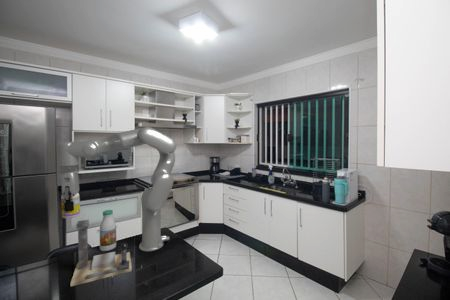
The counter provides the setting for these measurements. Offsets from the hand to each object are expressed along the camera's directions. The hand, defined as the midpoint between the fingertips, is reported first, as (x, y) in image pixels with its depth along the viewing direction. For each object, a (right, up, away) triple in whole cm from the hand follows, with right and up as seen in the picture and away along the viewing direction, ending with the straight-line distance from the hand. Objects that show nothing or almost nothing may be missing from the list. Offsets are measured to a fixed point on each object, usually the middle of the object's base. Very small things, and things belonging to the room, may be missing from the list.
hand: (71, 207), depth 93 cm
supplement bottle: (0, -4, 0) cm, 4 cm away
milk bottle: (+7, -26, +17) cm, 32 cm away
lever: (+25, -25, -3) cm, 36 cm away
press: (+15, -27, -1) cm, 31 cm away
